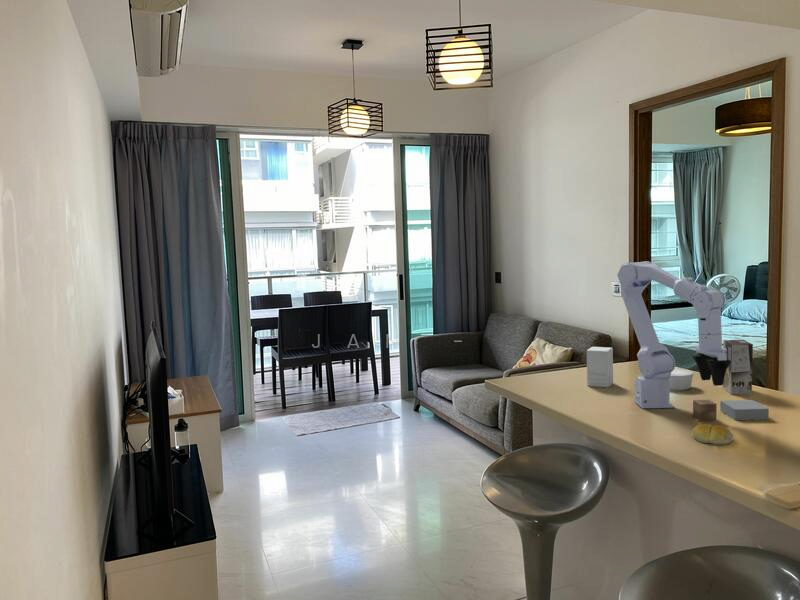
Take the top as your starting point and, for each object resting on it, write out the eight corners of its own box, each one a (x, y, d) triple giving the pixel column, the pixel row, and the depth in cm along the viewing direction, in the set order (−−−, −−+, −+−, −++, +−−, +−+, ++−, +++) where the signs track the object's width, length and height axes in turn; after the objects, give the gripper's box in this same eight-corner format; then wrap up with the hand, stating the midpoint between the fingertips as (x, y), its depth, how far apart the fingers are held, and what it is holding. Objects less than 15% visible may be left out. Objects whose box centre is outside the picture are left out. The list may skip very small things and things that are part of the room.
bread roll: (696, 433, 166) (697, 418, 166) (734, 439, 160) (735, 423, 160) (687, 441, 160) (688, 426, 159) (726, 448, 154) (727, 432, 154)
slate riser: (734, 420, 175) (734, 409, 174) (720, 410, 184) (720, 400, 183) (768, 419, 174) (768, 408, 174) (752, 410, 183) (752, 400, 183)
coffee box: (752, 395, 199) (753, 344, 197) (730, 394, 200) (731, 344, 198) (743, 387, 208) (744, 339, 206) (721, 387, 209) (722, 339, 207)
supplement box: (613, 383, 220) (613, 347, 219) (608, 388, 214) (608, 351, 213) (592, 381, 224) (592, 346, 223) (586, 385, 218) (586, 349, 217)
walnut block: (699, 422, 174) (699, 404, 174) (692, 417, 179) (693, 399, 178) (716, 421, 174) (716, 403, 174) (709, 416, 179) (709, 399, 178)
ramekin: (653, 389, 210) (653, 373, 210) (660, 382, 220) (660, 367, 219) (690, 393, 204) (690, 376, 204) (695, 385, 213) (695, 370, 213)
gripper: (737, 335, 167) (739, 386, 168) (713, 329, 181) (715, 376, 182) (710, 337, 167) (712, 388, 168) (688, 331, 182) (689, 378, 182)
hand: (711, 382), depth 175 cm, fingers open, 7 cm apart
